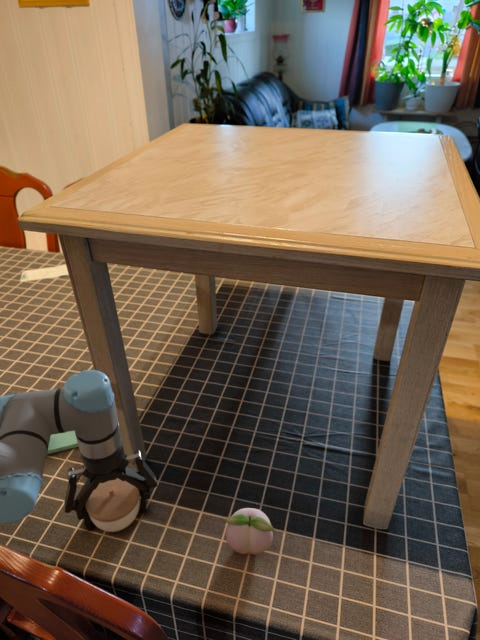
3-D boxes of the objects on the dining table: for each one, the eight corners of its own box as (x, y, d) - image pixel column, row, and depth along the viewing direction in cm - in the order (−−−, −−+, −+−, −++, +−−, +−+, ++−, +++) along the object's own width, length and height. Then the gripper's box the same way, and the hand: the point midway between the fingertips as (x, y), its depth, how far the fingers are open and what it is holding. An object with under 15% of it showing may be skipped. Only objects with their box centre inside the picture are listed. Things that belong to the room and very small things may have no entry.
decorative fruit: (271, 527, 92) (274, 497, 87) (272, 566, 85) (275, 537, 80) (226, 525, 93) (226, 495, 87) (223, 564, 86) (223, 534, 80)
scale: (24, 463, 105) (21, 453, 103) (27, 416, 118) (23, 406, 116) (104, 443, 110) (102, 433, 108) (98, 400, 123) (96, 391, 121)
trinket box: (114, 488, 100) (107, 460, 94) (153, 507, 96) (149, 479, 91) (80, 528, 91) (71, 500, 86) (121, 550, 88) (114, 522, 82)
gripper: (159, 415, 88) (167, 486, 100) (33, 446, 81) (58, 517, 93) (167, 443, 82) (175, 514, 94) (32, 478, 75) (59, 550, 87)
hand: (117, 516), depth 93 cm, fingers closed on trinket box, 11 cm apart
